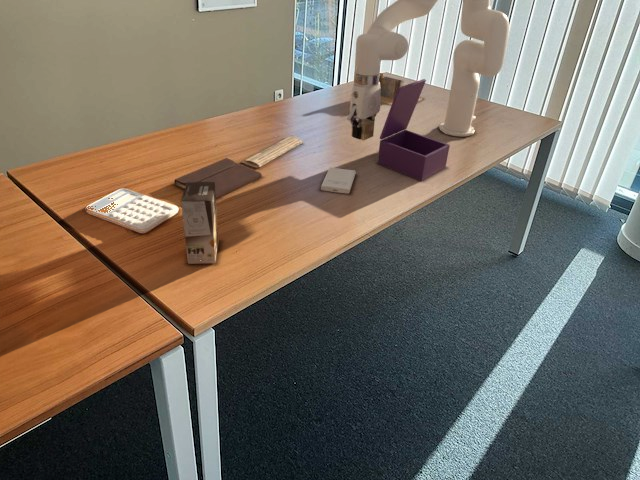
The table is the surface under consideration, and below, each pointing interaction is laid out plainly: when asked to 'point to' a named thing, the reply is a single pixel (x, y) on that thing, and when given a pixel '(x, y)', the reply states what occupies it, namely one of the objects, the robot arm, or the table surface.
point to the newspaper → (272, 152)
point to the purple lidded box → (413, 154)
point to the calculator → (134, 210)
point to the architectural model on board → (389, 88)
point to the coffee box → (200, 222)
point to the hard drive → (338, 180)
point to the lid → (402, 108)
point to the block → (366, 129)
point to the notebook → (221, 176)
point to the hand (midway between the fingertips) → (362, 134)
